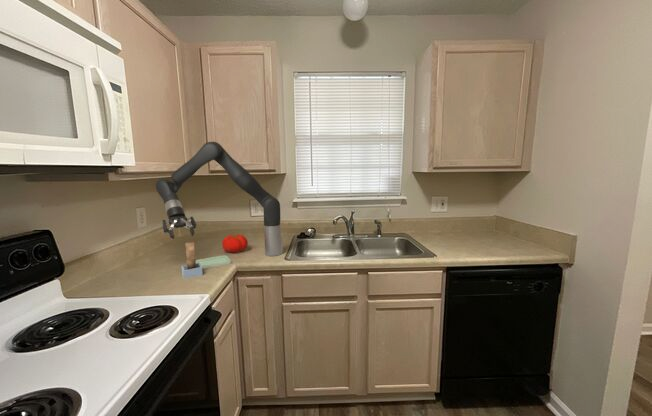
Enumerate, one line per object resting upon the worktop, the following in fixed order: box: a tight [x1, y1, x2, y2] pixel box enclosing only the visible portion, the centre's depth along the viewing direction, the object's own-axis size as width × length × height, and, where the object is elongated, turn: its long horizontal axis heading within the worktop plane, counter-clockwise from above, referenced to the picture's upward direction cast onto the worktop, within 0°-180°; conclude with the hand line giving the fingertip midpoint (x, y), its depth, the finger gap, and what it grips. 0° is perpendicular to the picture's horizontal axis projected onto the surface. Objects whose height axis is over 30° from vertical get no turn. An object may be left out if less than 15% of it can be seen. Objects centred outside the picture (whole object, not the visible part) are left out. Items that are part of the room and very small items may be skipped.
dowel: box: [184, 241, 197, 269], centre depth 126 cm, size 4×4×15 cm
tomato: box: [221, 233, 249, 254], centre depth 165 cm, size 14×16×10 cm
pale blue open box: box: [180, 263, 204, 280], centre depth 127 cm, size 8×8×4 cm
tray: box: [195, 254, 232, 270], centre depth 142 cm, size 16×12×2 cm
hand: (183, 236), depth 131 cm, fingers open, 8 cm apart
